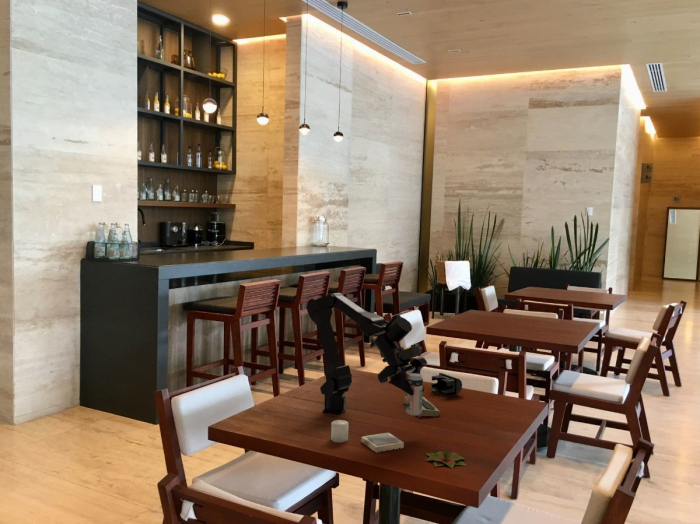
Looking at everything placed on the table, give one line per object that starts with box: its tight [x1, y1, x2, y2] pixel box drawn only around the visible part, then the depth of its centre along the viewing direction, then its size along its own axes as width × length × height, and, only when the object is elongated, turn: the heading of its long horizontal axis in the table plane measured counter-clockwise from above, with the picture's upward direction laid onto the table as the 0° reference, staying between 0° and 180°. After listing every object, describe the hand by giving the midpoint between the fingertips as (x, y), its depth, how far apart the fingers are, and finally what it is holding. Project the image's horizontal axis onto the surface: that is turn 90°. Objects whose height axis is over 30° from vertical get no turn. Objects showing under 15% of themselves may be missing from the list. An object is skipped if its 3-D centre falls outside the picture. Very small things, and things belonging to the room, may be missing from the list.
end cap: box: [430, 372, 463, 398], centre depth 230 cm, size 10×7×7 cm
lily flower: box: [424, 444, 467, 470], centre depth 165 cm, size 12×12×5 cm
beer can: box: [405, 373, 424, 417], centre depth 183 cm, size 5×5×12 cm
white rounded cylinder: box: [330, 419, 349, 443], centre depth 179 cm, size 5×5×5 cm
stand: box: [360, 432, 405, 453], centre depth 176 cm, size 9×9×2 cm
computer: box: [403, 395, 441, 418], centre depth 209 cm, size 16×8×3 cm, turn 12°
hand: (418, 393), depth 182 cm, fingers closed on beer can, 5 cm apart
